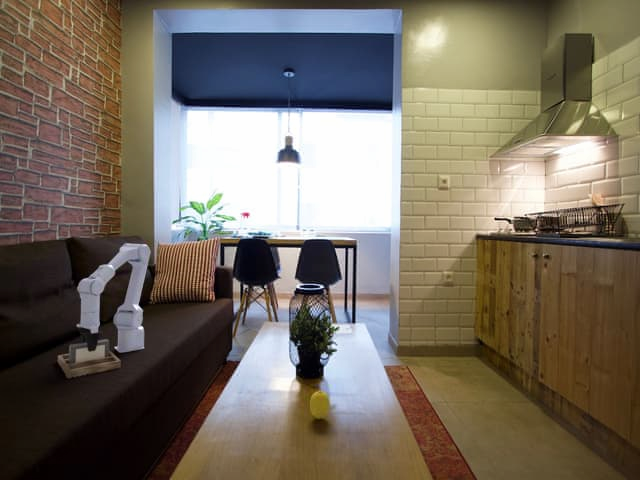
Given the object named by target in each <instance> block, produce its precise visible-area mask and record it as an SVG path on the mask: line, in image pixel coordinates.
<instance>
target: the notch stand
mask: <svg viewBox="0 0 640 480" xmlns="http://www.w3.org/2000/svg"><path fill="white" fill-rule="evenodd" d="M57 363H58V366H59V367H60V366H61V367H60V368H62V369H61V370H62V372H63V371H64V372H63V374H64V373H65V374H64V375H65V376H66V379H67V378H68V379H71V378H72V377H73V378H77V376H78V377H81V376H82V375H83V376H87V374H88V375H91V374H96V373H102V372H106V371H111V370H115V369H120V368H121V363H122V361H121V359H120V358H118V357H117V356H116V355H115V354H114V353H113V352H112V351H111V350H110V349H109V357H105V358H99V359H94V360H89V361H83V362H78V363H72V364H69V353H65V354H60V355H57Z"/></svg>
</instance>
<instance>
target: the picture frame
mask: <svg viewBox="0 0 640 480" xmlns="http://www.w3.org/2000/svg"><path fill="white" fill-rule="evenodd" d="M109 350H110V340H109V339H107V338H105V339H99V340H98V343H97V347H96V350H95V351H90V352H89V351H88V348H87V342H85V343H83V342H81V343H73V344H69V349H68V354H69V364H72V363H78V362H83V361H89V360H94V359H99V358H105V357H109Z"/></svg>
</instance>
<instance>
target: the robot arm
mask: <svg viewBox="0 0 640 480" xmlns="http://www.w3.org/2000/svg"><path fill="white" fill-rule="evenodd" d="M151 253H152V252H151V249H150V247H149V245H148V244H146V243H145V244H144V243H142V244H140V243H129V242H128V243H127V242H126V243H124V244H123V245H122V246H121V247H119V252H117V254H116V255H115V256H114V257H113V258H112V259H111V260H110V261H109V262H108V263H107V264H101V265H99V266H98V268H97V269H96V270H95V271H94V272H93V273H91V274H90V275H89V276H88V277H85V278H83V279H81V280H80V281H79V283H78V286H77V287H76V289H77V292H78V293H79V298H80V299H81V301H80V323H77V324H76V327H77V329H78V331H79V333H80V336H81V340H82V343H85V342H87V348H88V351H89V352H90V351H95V350H96V347H97V343H98V340H100V337H102V336H101V335H102V334H103V331H102V330H99V326H100V324H101V323H100V306H101V305H100V303H101V301H100V300H101V299H100V298H101V294H102V293H103V292H104V290H105V287H106V286H107V283H108V282H109V281H110V280H111V279H112V278H113V277H114V276H115V274H116V270H118V269H119V268H120V267H122V266H123V265H124V264H125V263H126V262H128V263H129V264H131V266H132V270H131V273H130V279H129V282H128V287H127V291H126V295H125V297H124V298H125V299H124V301H123V302H124V303H122V305H120V306H119V307H118V308H117V311H116V313H115V314H114V316H113V324H114V325H115V326H116V329H117V346H114V350H116V351H117V352H118V353H127V352H132V351H138V350H143V349H145V329H144V327H143V326H142V323H143V319H144V318H143V317H144V316H143V314H144V313H143V312H144V309H143V308H141V307H140V305H139V303H140V300H141V296H142V291H143V286H144V282H145V278H146V274H147V268H148V265H149V261H150V256H151Z"/></svg>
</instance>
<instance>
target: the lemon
mask: <svg viewBox="0 0 640 480" xmlns="http://www.w3.org/2000/svg"><path fill="white" fill-rule="evenodd" d="M309 410H310V413H311V414H312V416H313V417H315V418H317V419H318V420H321V419H322V418H324V417H326V416H327V415H328V413H329V411H330V399H329V396H328V394H327V393H326V392H324V391H323V390H318V391H315V392H314V393H313V394H312V395H311V398H310V401H309Z"/></svg>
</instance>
